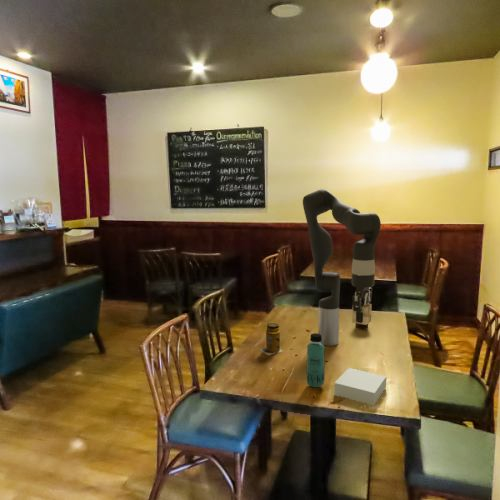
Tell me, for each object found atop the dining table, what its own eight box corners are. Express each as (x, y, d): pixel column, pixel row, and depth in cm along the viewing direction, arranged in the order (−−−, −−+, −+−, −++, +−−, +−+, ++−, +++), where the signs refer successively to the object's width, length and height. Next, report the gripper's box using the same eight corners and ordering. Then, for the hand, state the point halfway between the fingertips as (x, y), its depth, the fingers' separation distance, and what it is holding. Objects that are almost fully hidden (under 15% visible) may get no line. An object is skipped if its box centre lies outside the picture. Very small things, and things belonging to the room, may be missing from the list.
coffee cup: (372, 326, 216) (373, 302, 214) (368, 331, 209) (368, 306, 207) (356, 324, 220) (356, 300, 218) (351, 328, 214) (351, 304, 212)
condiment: (283, 351, 187) (283, 325, 185) (268, 355, 182) (268, 329, 181) (274, 346, 193) (273, 321, 191) (258, 350, 188) (258, 324, 187)
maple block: (357, 318, 149) (357, 302, 148) (371, 320, 146) (371, 304, 145) (352, 322, 145) (352, 305, 144) (366, 324, 142) (366, 307, 141)
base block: (348, 380, 159) (348, 367, 158) (385, 389, 152) (386, 376, 151) (334, 396, 148) (334, 382, 147) (374, 406, 140) (374, 392, 139)
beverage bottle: (304, 383, 157) (304, 331, 154) (322, 382, 157) (322, 330, 154) (308, 391, 150) (308, 338, 147) (326, 390, 151) (327, 337, 148)
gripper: (359, 267, 151) (358, 313, 154) (344, 274, 139) (344, 324, 142) (380, 269, 147) (378, 316, 149) (367, 277, 135) (366, 328, 138)
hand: (361, 319), depth 146 cm, fingers closed on maple block, 5 cm apart
